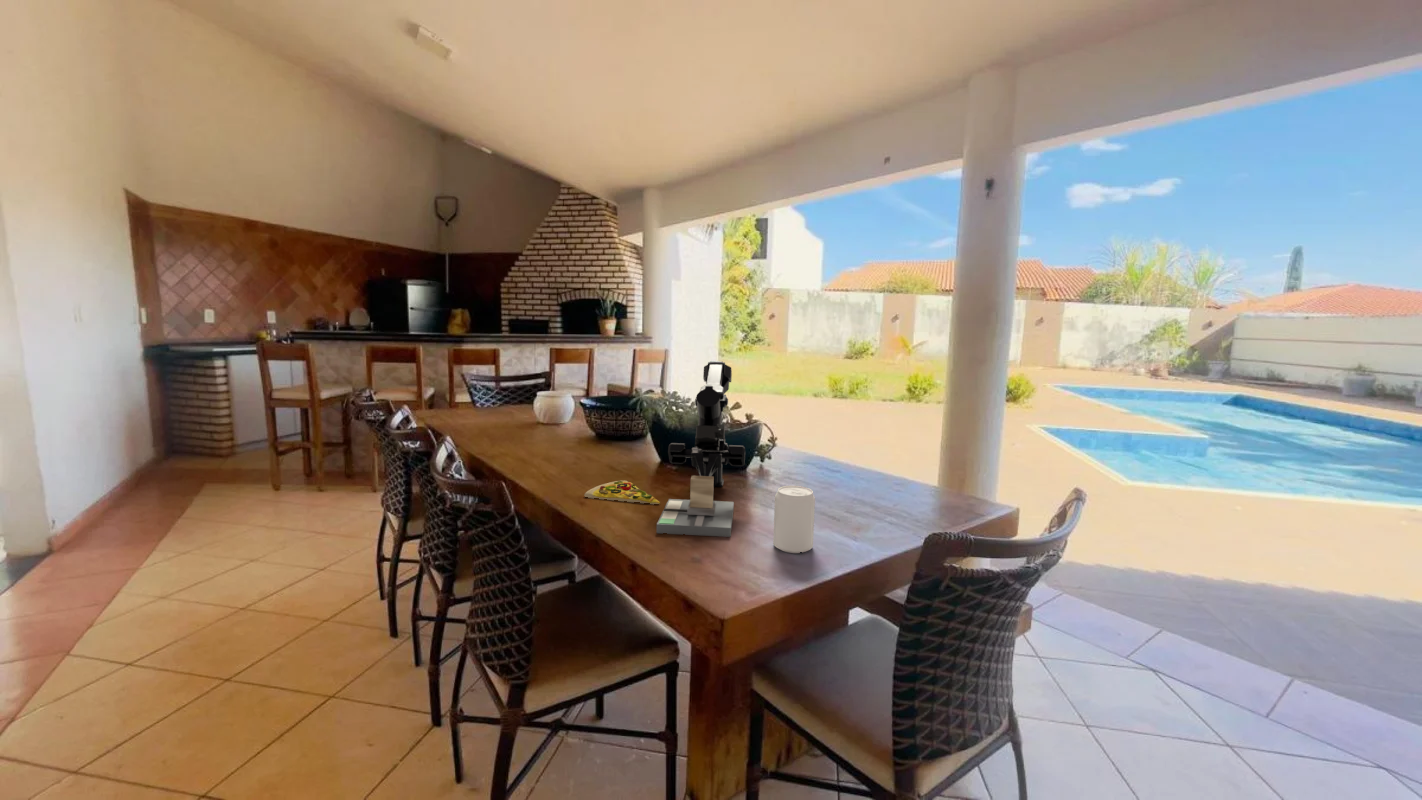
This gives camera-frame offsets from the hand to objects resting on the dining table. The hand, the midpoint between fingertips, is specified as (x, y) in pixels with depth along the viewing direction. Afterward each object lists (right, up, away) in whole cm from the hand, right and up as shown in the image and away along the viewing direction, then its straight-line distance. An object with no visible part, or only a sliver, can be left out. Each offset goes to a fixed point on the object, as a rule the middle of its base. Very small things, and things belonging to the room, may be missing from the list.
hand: (704, 484), depth 136 cm
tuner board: (-2, -8, -4) cm, 9 cm away
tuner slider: (-3, -5, -5) cm, 8 cm away
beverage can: (+18, -10, -18) cm, 28 cm away
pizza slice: (-20, -6, +13) cm, 24 cm away
